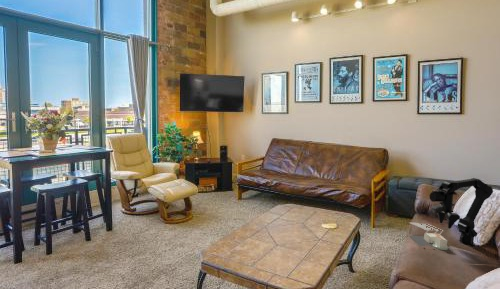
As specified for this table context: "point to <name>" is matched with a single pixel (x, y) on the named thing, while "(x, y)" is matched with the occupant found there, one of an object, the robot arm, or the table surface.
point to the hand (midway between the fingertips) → (444, 225)
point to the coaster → (440, 248)
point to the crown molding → (425, 227)
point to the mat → (422, 241)
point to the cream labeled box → (430, 237)
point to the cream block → (440, 242)
